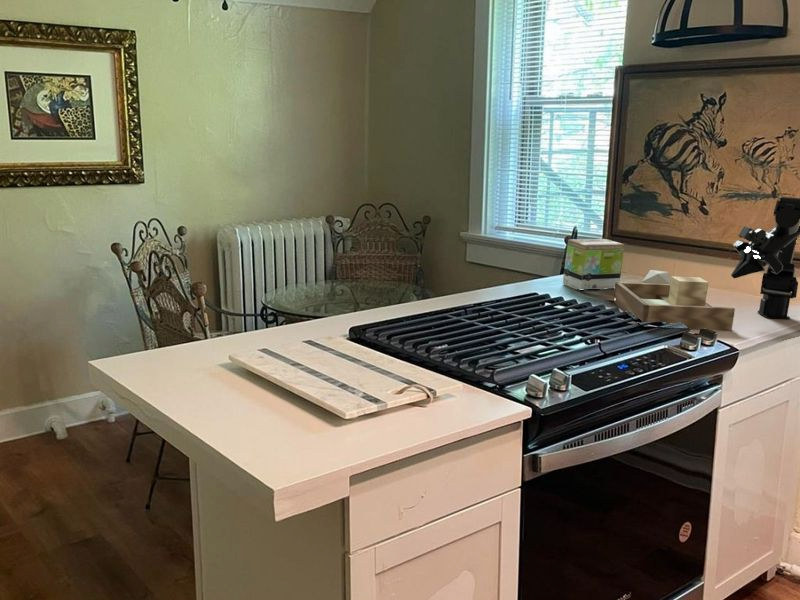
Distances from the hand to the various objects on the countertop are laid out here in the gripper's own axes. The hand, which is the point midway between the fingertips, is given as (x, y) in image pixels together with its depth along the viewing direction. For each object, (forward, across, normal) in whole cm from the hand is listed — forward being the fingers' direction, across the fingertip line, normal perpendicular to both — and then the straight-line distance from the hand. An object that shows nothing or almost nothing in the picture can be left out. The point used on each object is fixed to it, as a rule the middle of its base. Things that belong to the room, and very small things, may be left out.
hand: (732, 276), depth 214 cm
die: (+17, -22, 0) cm, 27 cm away
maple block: (+14, -1, -2) cm, 14 cm away
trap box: (+20, -1, -4) cm, 20 cm away
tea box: (+29, -33, -12) cm, 45 cm away
